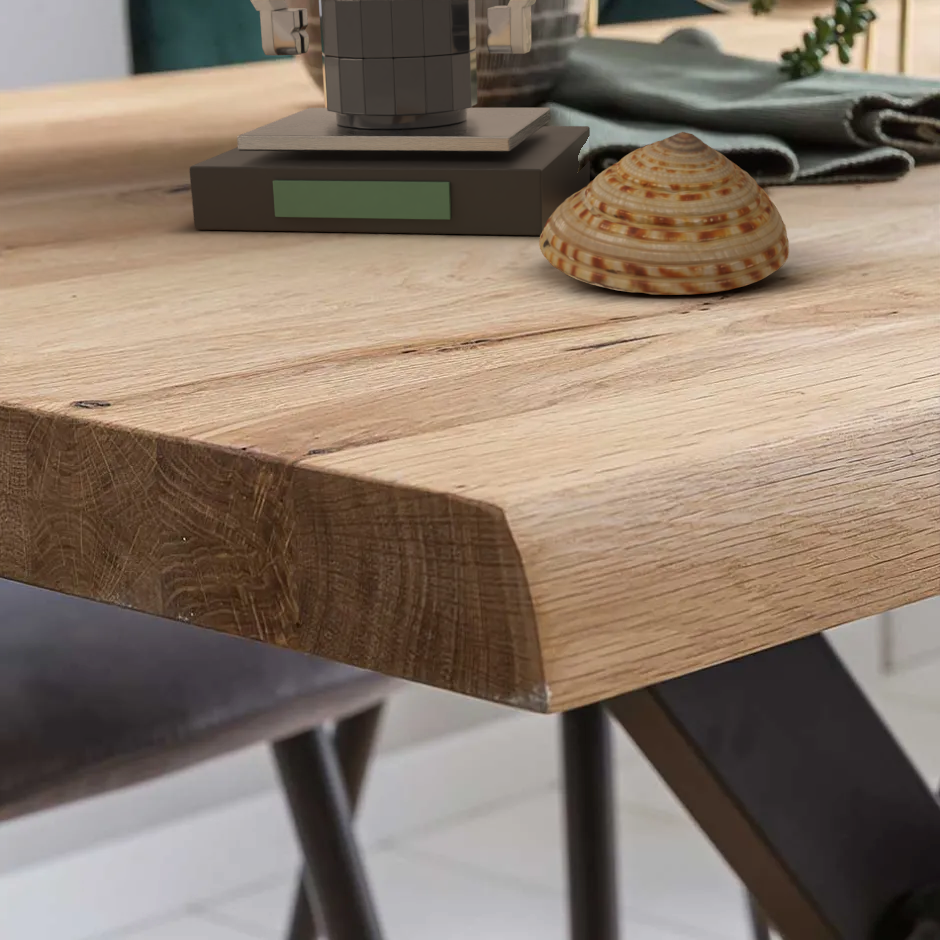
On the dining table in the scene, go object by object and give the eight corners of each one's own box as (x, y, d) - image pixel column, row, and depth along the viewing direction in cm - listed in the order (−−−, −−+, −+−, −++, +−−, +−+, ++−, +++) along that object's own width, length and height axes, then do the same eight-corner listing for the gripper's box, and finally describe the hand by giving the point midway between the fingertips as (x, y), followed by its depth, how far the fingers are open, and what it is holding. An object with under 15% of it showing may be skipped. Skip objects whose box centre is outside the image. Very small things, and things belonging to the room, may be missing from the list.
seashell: (733, 172, 58) (808, 109, 50) (747, 324, 58) (825, 284, 50) (514, 183, 57) (555, 120, 49) (527, 338, 57) (571, 300, 49)
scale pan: (237, 150, 62) (236, 135, 62) (308, 121, 71) (308, 107, 70) (509, 152, 60) (509, 136, 60) (550, 121, 68) (550, 107, 68)
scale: (191, 230, 62) (186, 167, 61) (292, 180, 73) (288, 125, 72) (541, 236, 59) (540, 170, 58) (590, 182, 70) (589, 125, 69)
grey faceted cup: (306, 130, 63) (298, 0, 61) (351, 111, 69) (345, -9, 67) (457, 131, 62) (453, -2, 60) (490, 111, 67) (487, -11, 66)
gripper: (665, -329, 60) (660, 45, 65) (166, -299, 65) (194, 48, 69) (645, -353, 54) (641, 59, 59) (99, -319, 59) (135, 62, 63)
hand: (396, 53), depth 64 cm, fingers open, 8 cm apart
